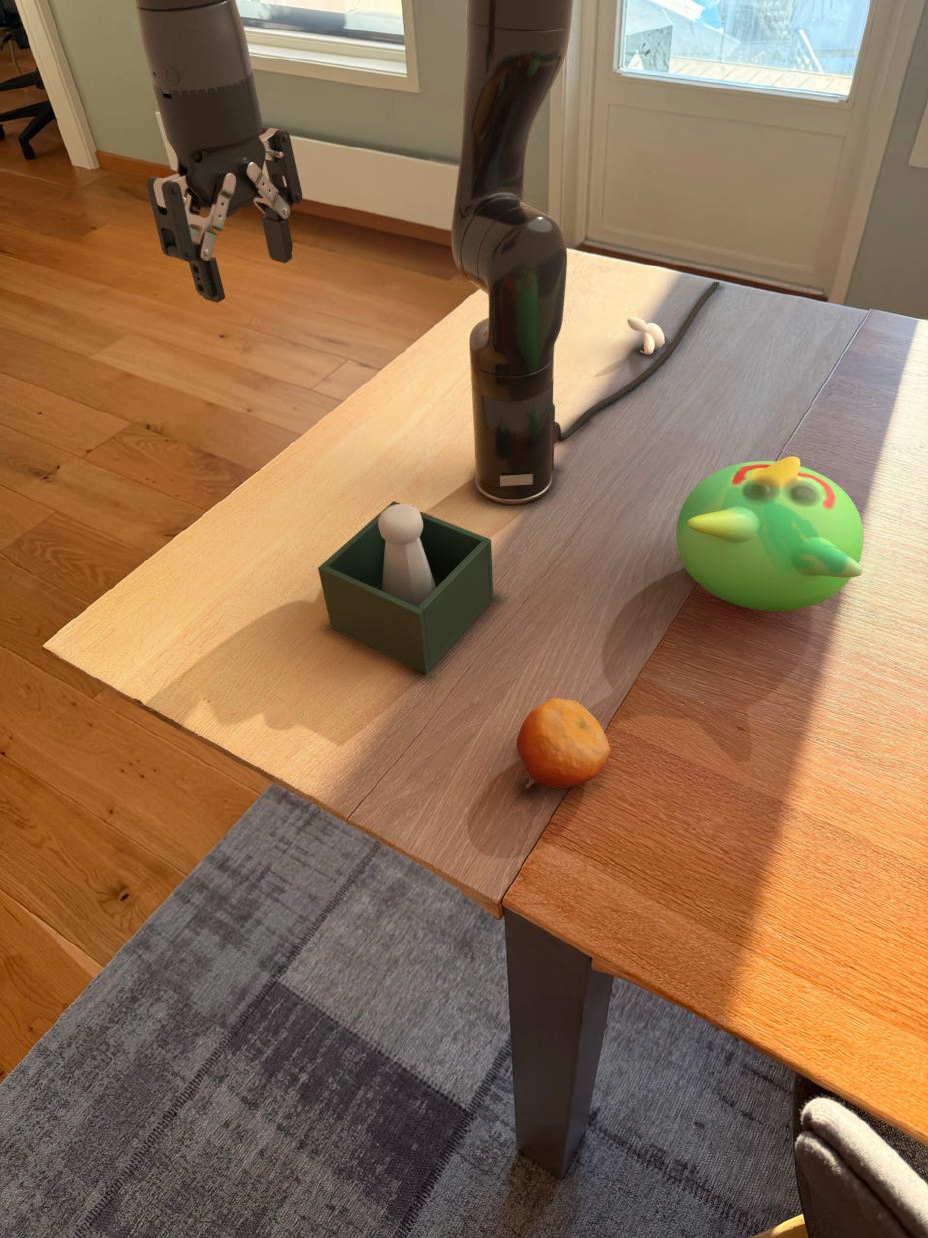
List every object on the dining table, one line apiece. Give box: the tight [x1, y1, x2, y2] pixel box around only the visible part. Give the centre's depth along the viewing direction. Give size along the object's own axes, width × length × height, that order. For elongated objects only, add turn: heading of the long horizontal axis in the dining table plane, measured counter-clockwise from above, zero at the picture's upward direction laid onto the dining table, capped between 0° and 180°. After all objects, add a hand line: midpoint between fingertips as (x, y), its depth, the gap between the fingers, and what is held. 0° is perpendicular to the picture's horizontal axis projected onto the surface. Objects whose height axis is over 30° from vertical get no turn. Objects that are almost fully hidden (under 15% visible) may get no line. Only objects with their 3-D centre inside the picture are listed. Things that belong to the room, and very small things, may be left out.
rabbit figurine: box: [626, 316, 666, 356], centre depth 130 cm, size 6×4×8 cm
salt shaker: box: [378, 503, 436, 607], centre depth 91 cm, size 6×6×13 cm
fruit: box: [516, 697, 612, 790], centre depth 79 cm, size 8×8×8 cm
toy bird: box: [675, 455, 865, 612], centre depth 91 cm, size 18×17×15 cm
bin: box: [317, 500, 494, 675], centre depth 93 cm, size 12×12×9 cm
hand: (248, 279), depth 80 cm, fingers open, 8 cm apart
